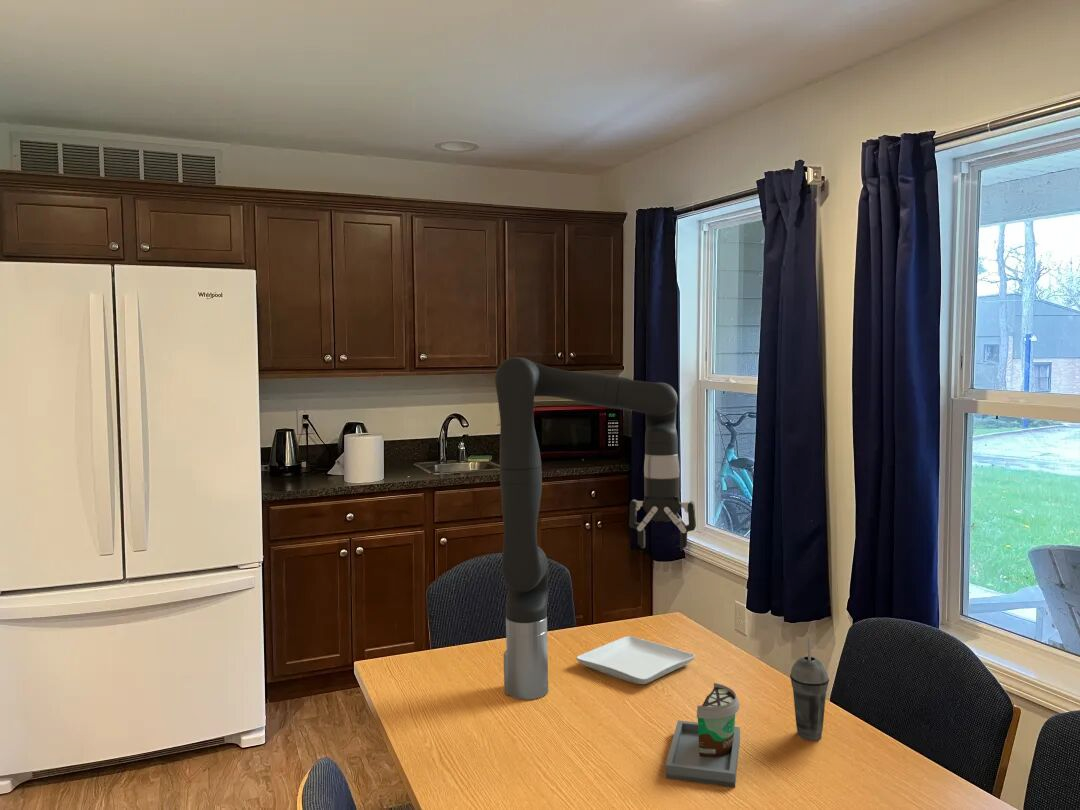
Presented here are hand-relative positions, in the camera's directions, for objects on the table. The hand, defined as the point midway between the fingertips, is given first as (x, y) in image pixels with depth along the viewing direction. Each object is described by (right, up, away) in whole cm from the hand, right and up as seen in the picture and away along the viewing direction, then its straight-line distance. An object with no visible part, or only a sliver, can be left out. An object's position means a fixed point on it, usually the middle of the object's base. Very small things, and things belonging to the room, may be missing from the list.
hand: (662, 548), depth 173 cm
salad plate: (-4, -33, +19) cm, 38 cm away
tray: (+4, -35, -25) cm, 43 cm away
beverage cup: (+26, -34, -17) cm, 46 cm away
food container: (+8, -34, -23) cm, 42 cm away
